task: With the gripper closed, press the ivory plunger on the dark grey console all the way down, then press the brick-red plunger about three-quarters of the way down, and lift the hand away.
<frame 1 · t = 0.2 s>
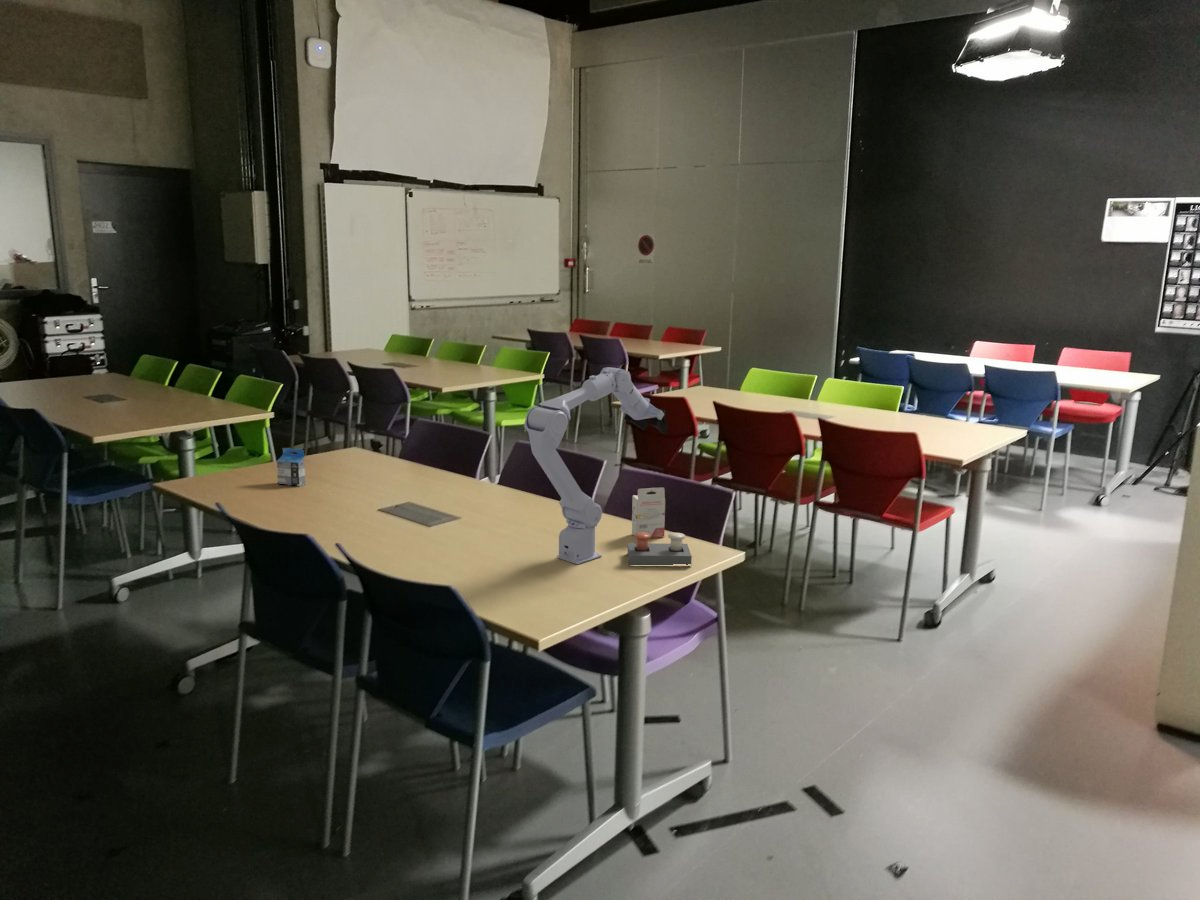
hand: (655, 429, 246), 31 cm above the table, tool tilted 45°, fingers open, 7 cm apart
console: (658, 560, 232), on the table
label tape box: (291, 485, 301), on the table
plunger ivory: (676, 542, 231), point 5 cm above the table, slide at 0.0 cm
plunger red: (642, 541, 231), point 5 cm above the table, slide at 0.0 cm
ink cartridge box: (647, 536, 253), on the table
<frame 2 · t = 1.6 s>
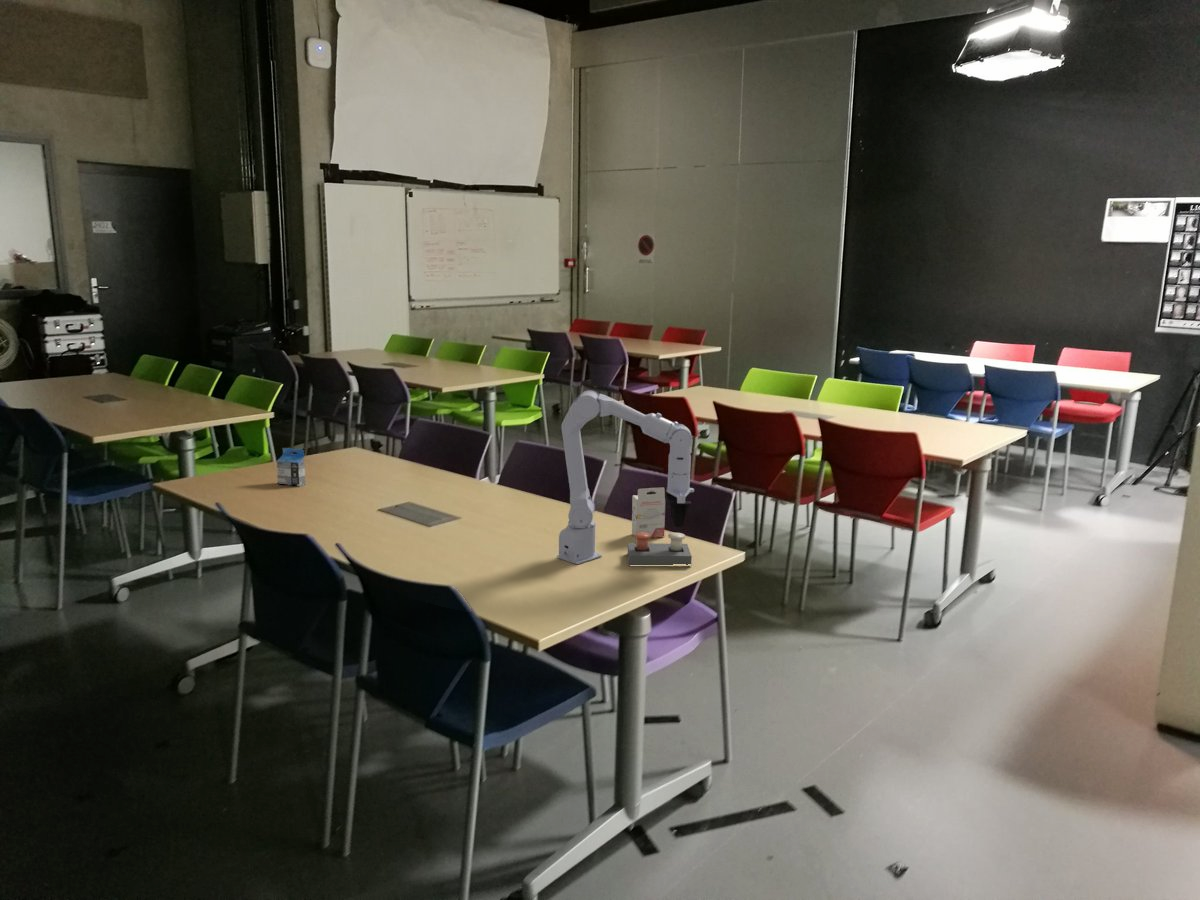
hand: (677, 522, 230), 10 cm above the table, tool pointing down, fingers open, 6 cm apart
nothing on the table moved.
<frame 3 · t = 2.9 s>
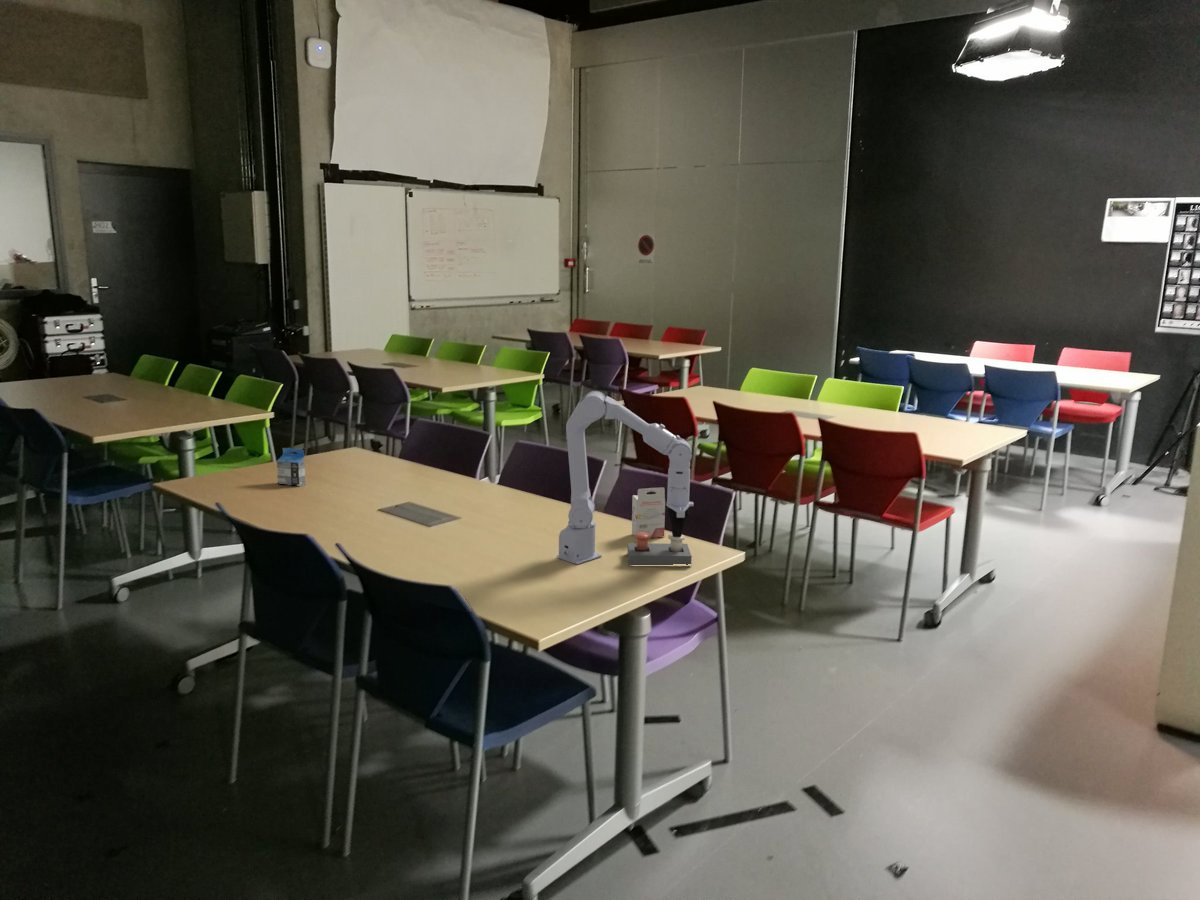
hand: (676, 536, 231), 7 cm above the table, tool pointing down, fingers closed, pressing on plunger ivory
plunger ivory: (676, 543, 231), point 5 cm above the table, slide at 0.3 cm, touching gripper
everything else where it was.
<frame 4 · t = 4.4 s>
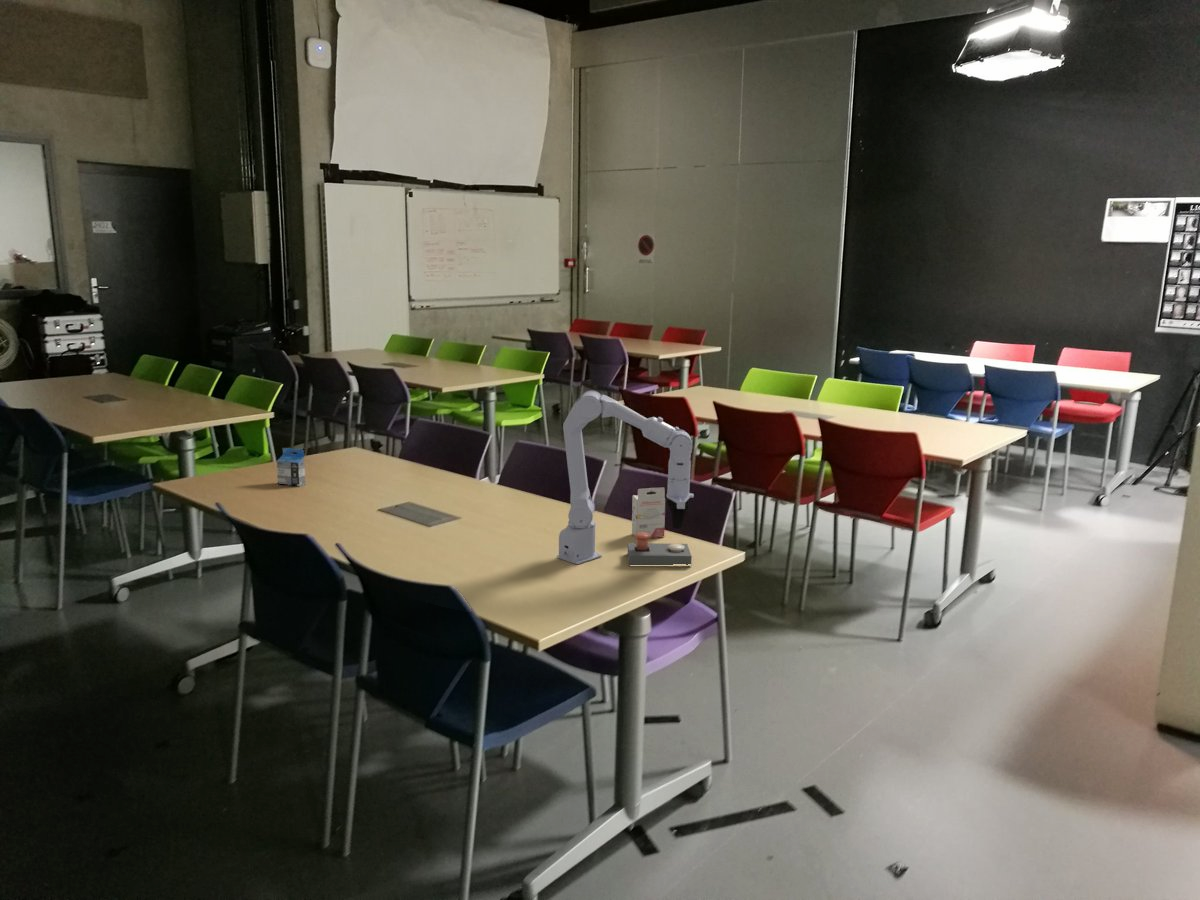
hand: (676, 527, 230), 9 cm above the table, tool pointing down, fingers closed
plunger ivory: (675, 553, 232), point 2 cm above the table, slide at 3.1 cm
everything else where it was.
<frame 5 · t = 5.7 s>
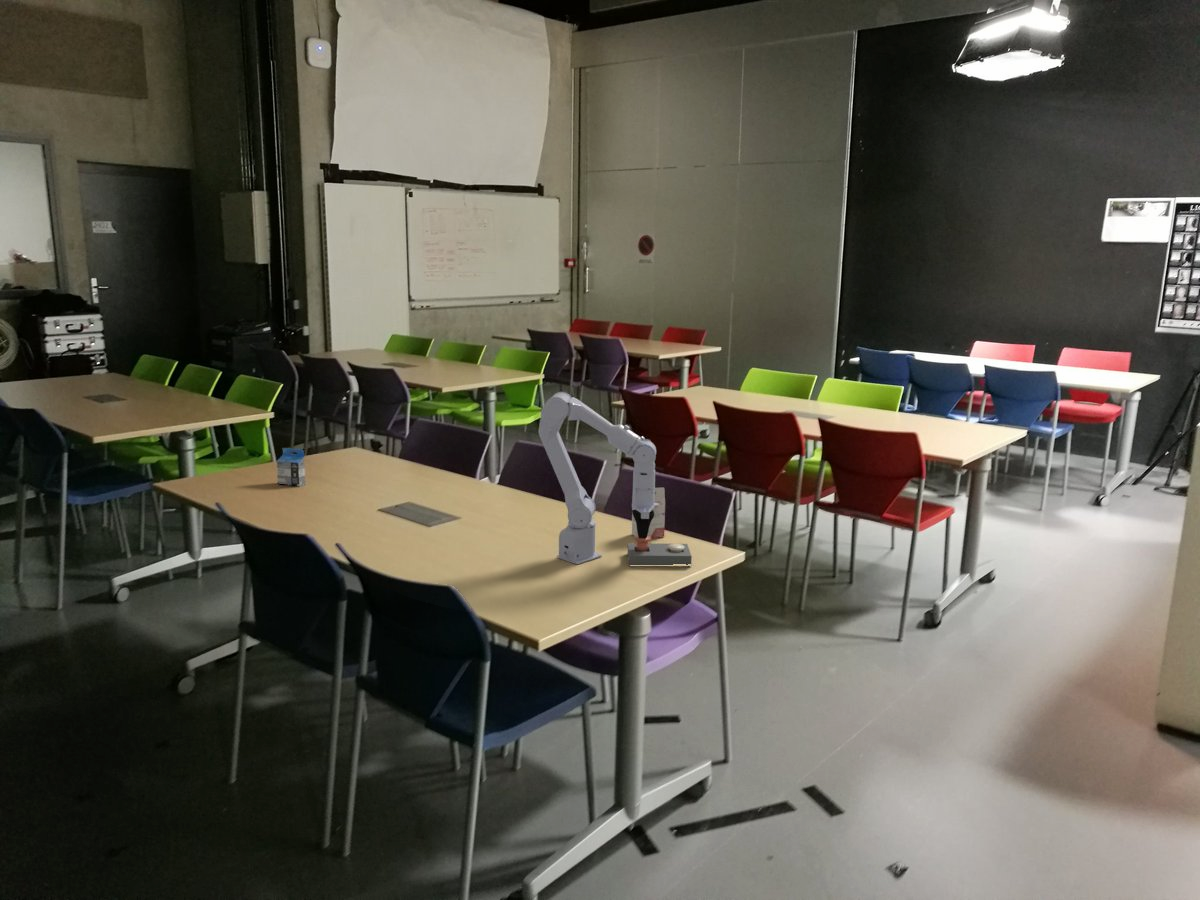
hand: (642, 537, 230), 6 cm above the table, tool pointing down, fingers closed, pressing on plunger red
plunger red: (642, 544, 231), point 4 cm above the table, slide at 0.8 cm, touching gripper
everything else where it was.
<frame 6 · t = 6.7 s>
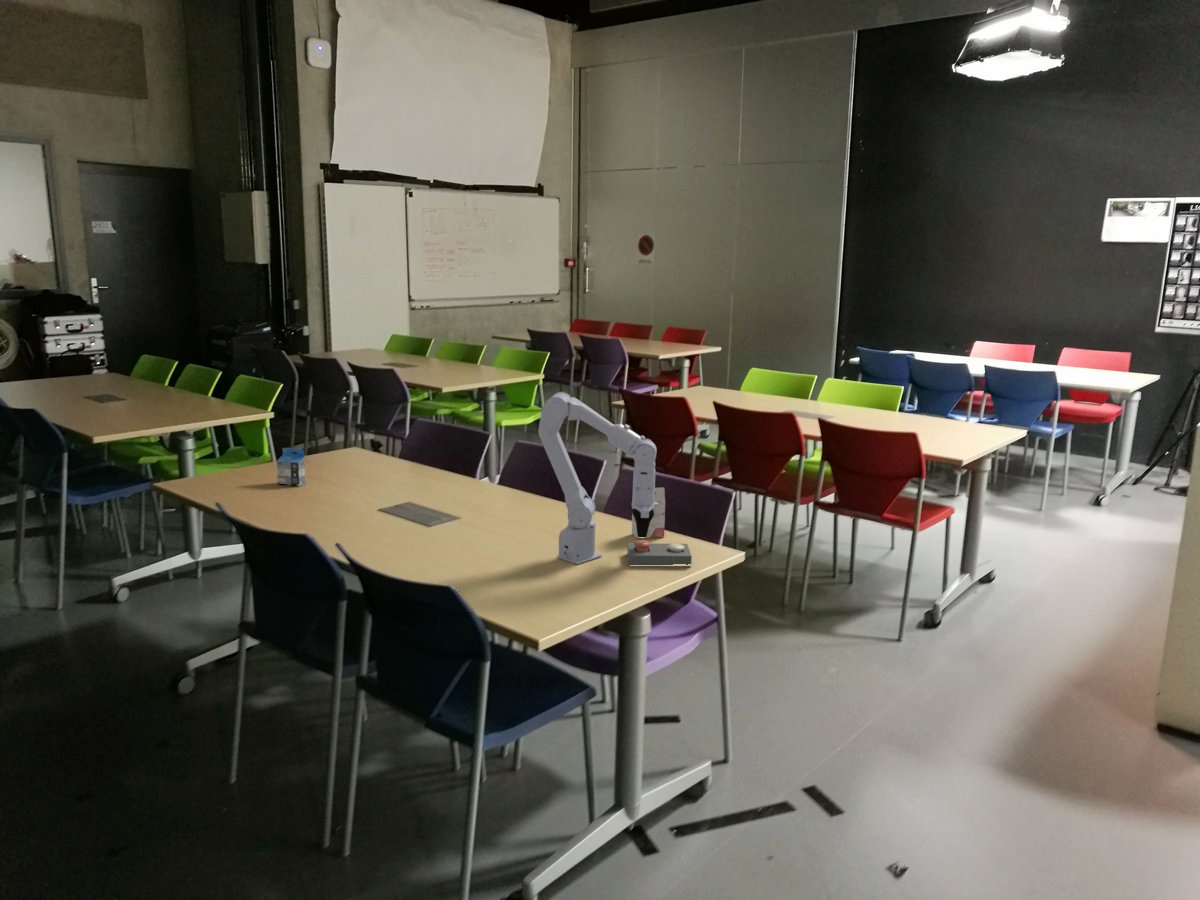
hand: (641, 536, 230), 6 cm above the table, tool pointing down, fingers closed
plunger red: (642, 549, 231), point 3 cm above the table, slide at 2.2 cm
everything else where it was.
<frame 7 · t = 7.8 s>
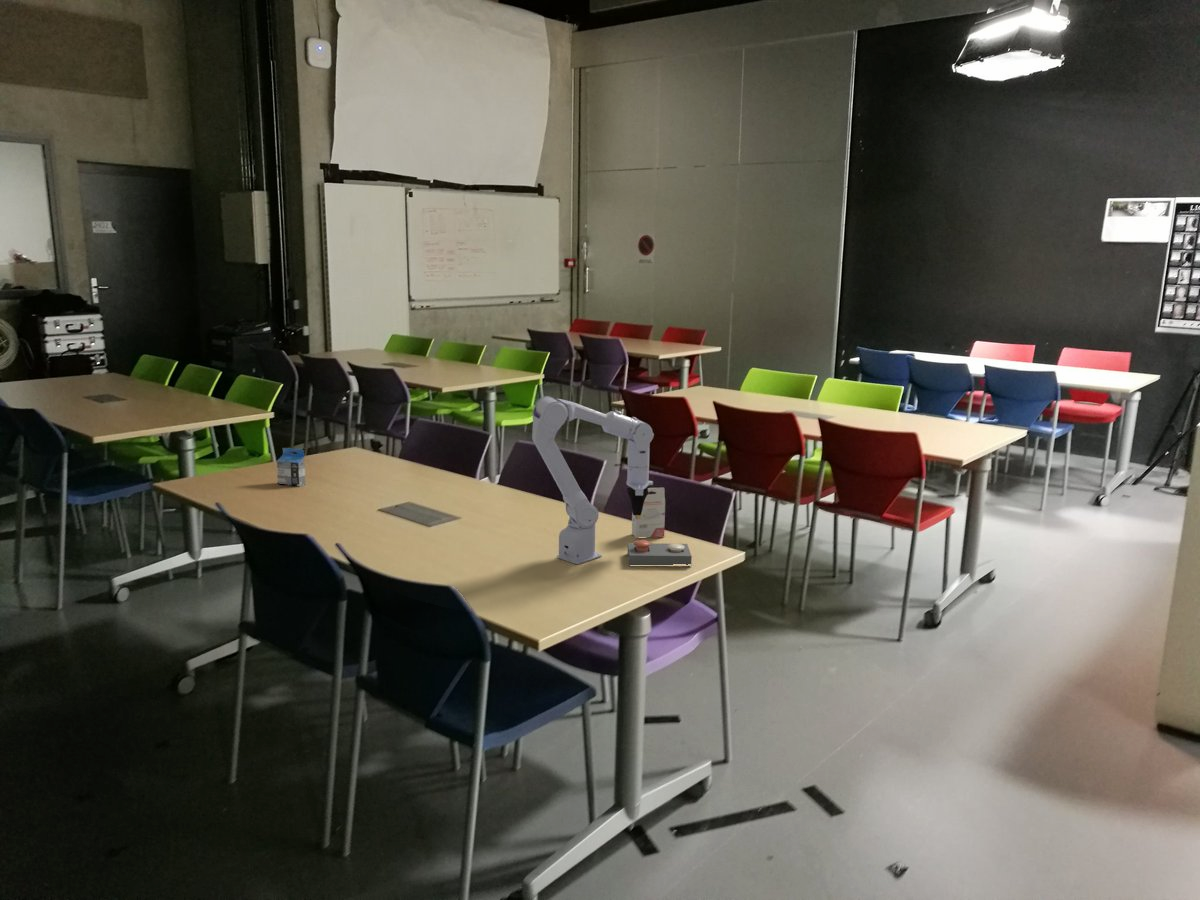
hand: (636, 514, 236), 10 cm above the table, tool pointing down, fingers closed
nothing on the table moved.
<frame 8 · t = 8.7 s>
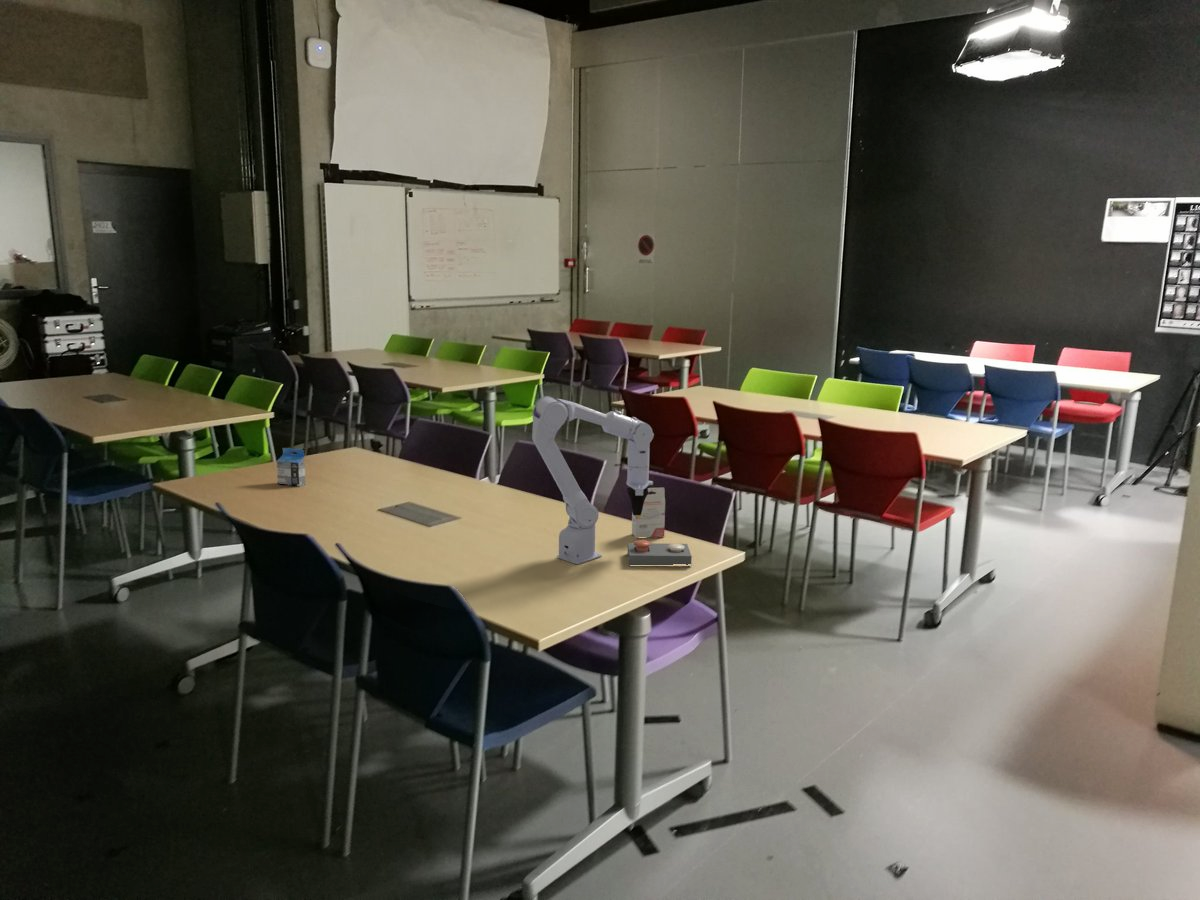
hand: (636, 514, 236), 10 cm above the table, tool pointing down, fingers closed
nothing on the table moved.
at the end: plunger ivory slide at 3.1 cm; plunger red slide at 2.2 cm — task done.
